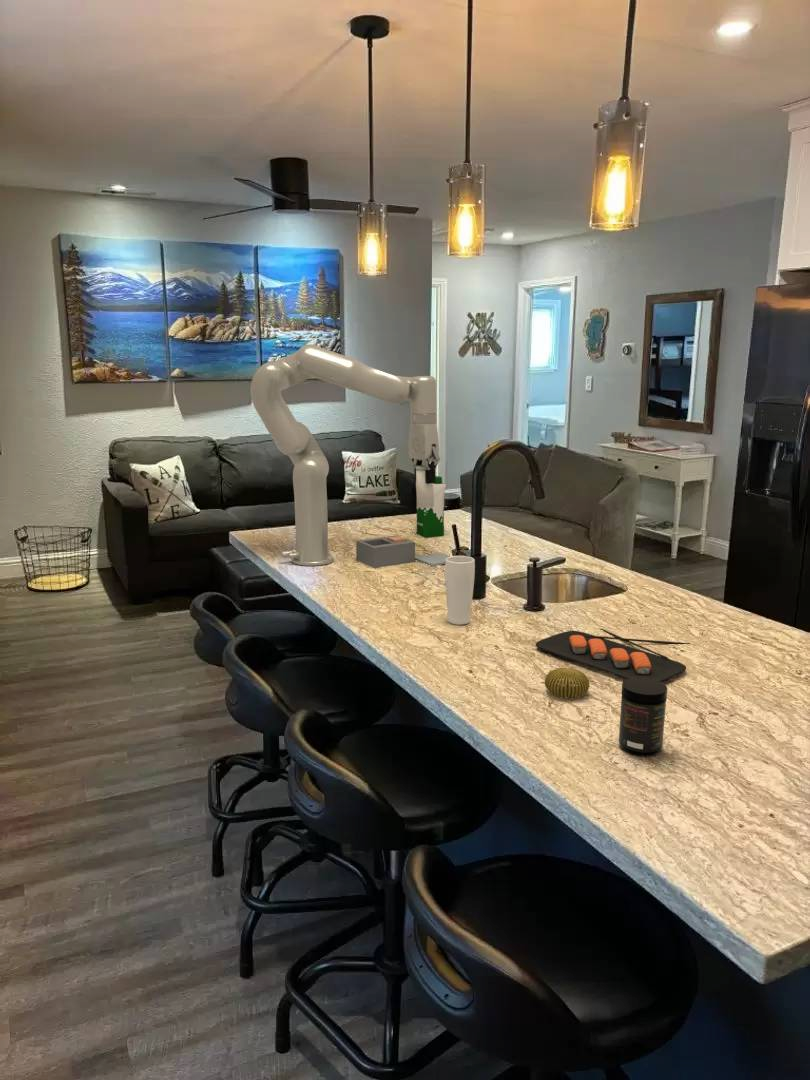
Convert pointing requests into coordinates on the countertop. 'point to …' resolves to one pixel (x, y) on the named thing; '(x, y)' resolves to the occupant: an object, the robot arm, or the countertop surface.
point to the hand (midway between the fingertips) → (425, 481)
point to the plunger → (396, 539)
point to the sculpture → (567, 683)
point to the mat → (433, 559)
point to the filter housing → (384, 552)
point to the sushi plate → (613, 655)
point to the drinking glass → (459, 588)
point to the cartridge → (423, 489)
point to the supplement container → (642, 716)
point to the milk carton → (432, 513)
